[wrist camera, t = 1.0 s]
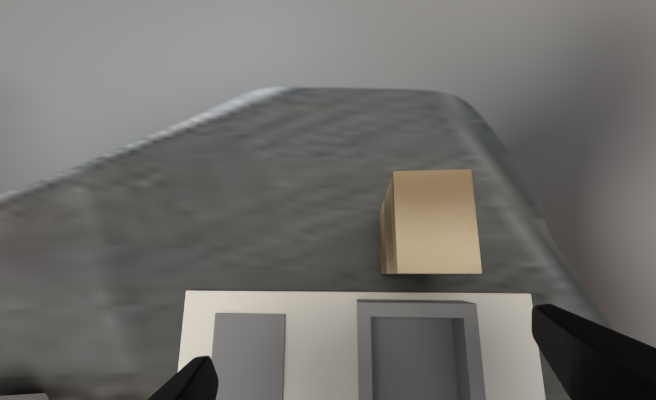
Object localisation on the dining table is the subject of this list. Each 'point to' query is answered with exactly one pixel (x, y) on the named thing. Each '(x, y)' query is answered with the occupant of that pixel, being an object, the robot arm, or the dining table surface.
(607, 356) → the robot arm
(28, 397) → the white plastic device
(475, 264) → the tan rectangular block
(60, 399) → the dining table surface
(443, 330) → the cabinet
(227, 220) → the dining table surface
